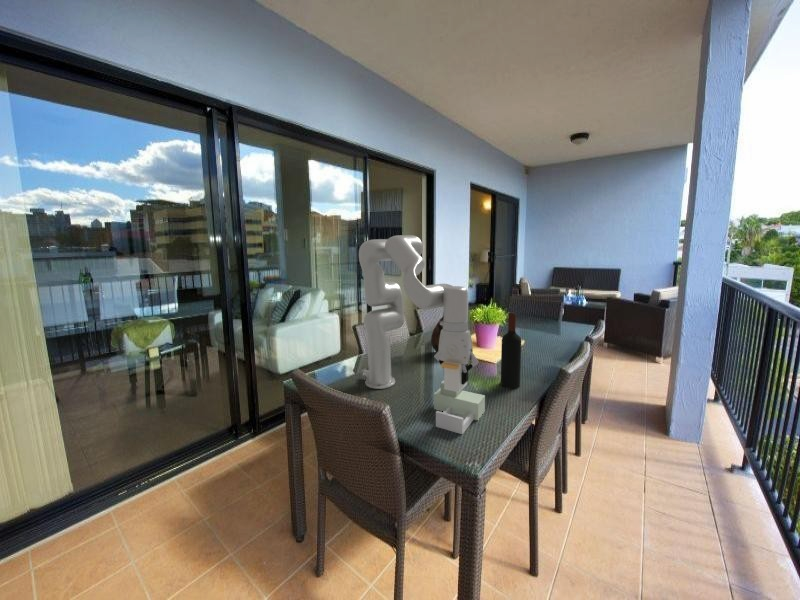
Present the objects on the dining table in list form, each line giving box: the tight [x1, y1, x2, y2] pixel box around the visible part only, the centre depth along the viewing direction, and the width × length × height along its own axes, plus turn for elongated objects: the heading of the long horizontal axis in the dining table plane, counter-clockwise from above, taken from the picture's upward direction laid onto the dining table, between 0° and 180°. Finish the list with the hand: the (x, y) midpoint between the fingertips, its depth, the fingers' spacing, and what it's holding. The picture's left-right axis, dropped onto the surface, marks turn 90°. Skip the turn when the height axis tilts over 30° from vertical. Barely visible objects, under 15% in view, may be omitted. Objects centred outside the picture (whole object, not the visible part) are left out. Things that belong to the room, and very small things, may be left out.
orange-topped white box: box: [440, 361, 468, 392], centre depth 108 cm, size 5×9×9 cm, turn 148°
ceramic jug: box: [430, 312, 444, 354], centre depth 176 cm, size 17×15×30 cm
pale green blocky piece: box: [433, 379, 486, 435], centre depth 114 cm, size 16×17×10 cm
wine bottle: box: [500, 311, 522, 390], centre depth 136 cm, size 8×8×30 cm
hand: (455, 380), depth 109 cm, fingers closed on orange-topped white box, 5 cm apart
